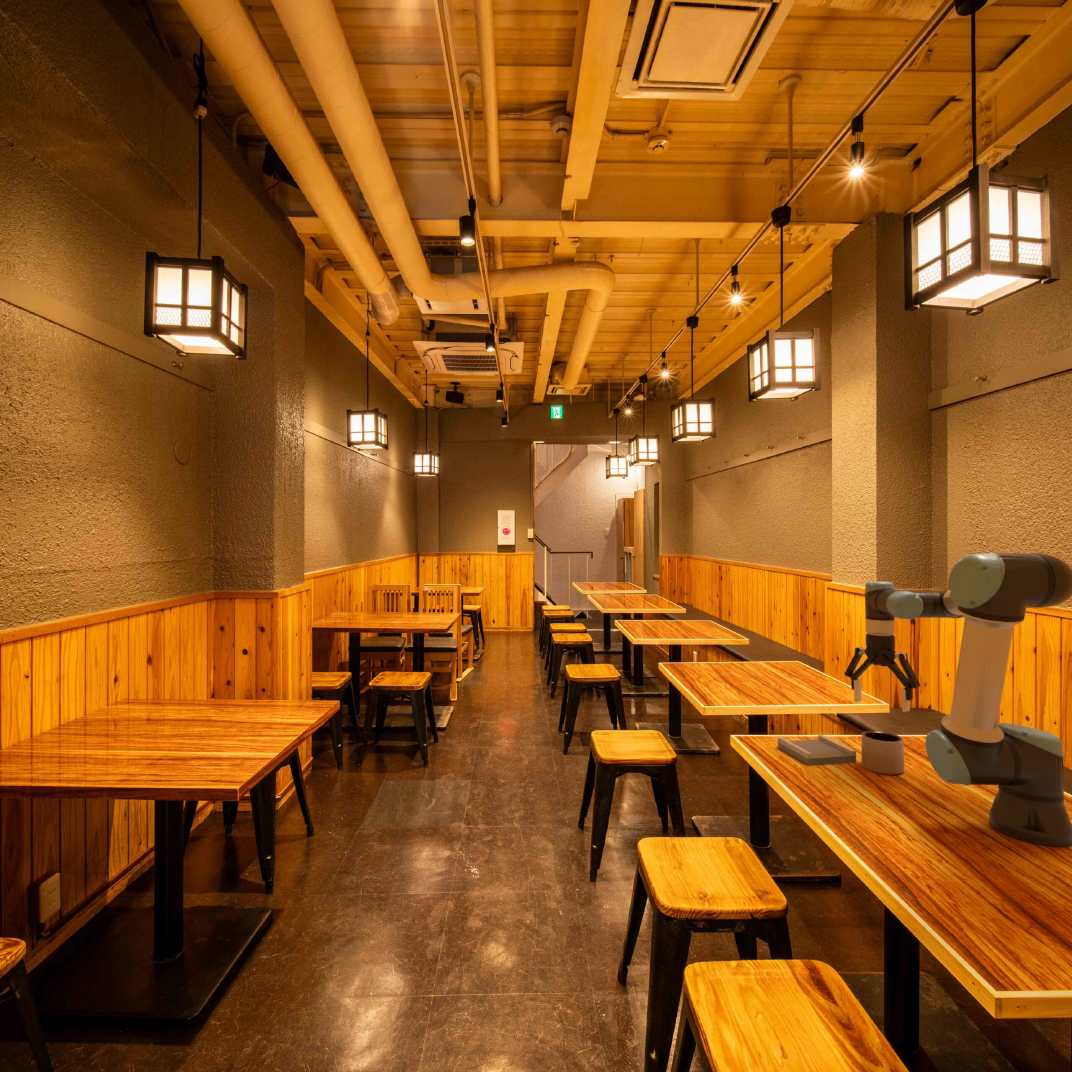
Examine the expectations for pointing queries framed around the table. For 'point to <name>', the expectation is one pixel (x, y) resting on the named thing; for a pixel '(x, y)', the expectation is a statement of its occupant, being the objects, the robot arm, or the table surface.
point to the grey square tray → (818, 751)
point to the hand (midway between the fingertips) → (881, 706)
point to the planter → (882, 752)
